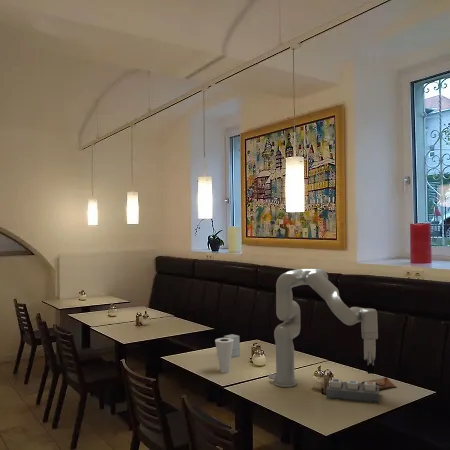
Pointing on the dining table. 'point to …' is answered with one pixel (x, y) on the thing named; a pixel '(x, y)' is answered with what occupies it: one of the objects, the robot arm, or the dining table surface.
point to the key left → (336, 383)
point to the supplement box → (234, 345)
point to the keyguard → (353, 394)
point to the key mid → (352, 384)
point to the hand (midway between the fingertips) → (371, 373)
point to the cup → (224, 353)
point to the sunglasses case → (383, 383)
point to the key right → (370, 386)
